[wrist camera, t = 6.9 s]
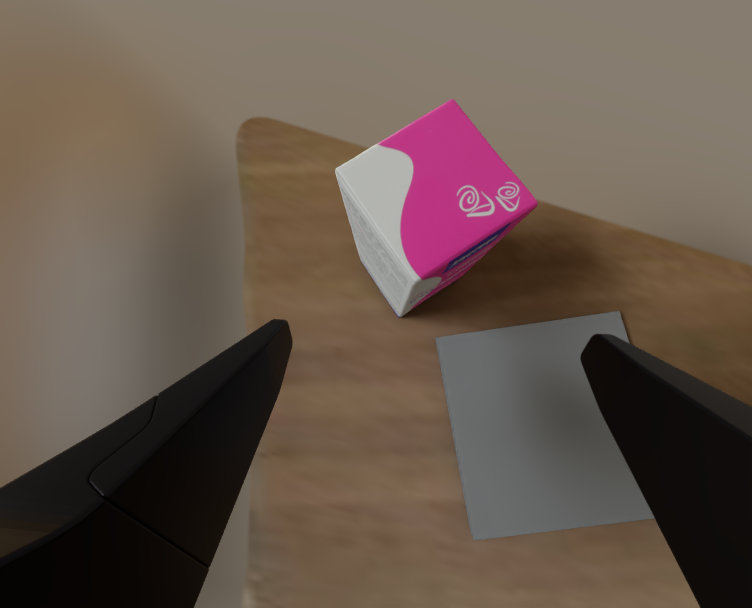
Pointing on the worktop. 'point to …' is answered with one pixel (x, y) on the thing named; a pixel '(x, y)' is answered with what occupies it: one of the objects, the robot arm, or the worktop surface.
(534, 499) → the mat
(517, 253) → the worktop surface
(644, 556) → the worktop surface
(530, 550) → the worktop surface
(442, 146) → the supplement box
